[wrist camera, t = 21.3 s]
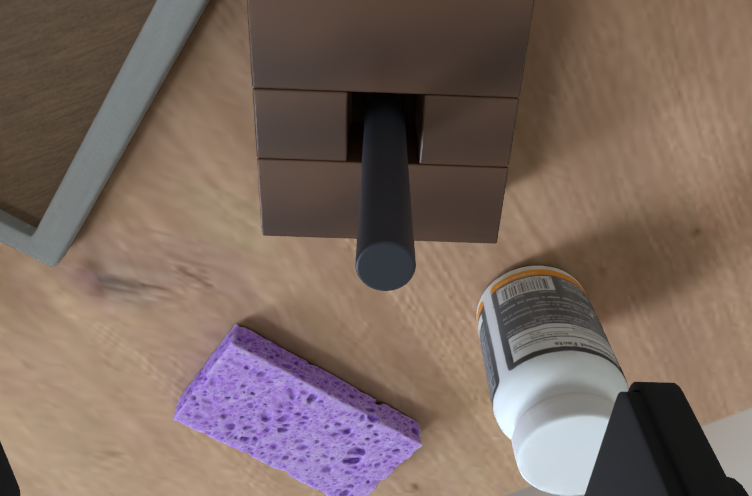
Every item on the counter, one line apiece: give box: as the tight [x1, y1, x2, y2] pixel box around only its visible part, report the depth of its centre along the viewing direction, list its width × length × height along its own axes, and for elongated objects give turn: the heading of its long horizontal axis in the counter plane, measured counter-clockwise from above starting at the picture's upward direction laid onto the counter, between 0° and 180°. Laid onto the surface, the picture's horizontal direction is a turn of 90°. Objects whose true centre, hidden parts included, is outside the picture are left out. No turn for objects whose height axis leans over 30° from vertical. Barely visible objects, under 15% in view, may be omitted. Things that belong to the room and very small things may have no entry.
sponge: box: [174, 324, 422, 496], centre depth 38 cm, size 7×13×2 cm, turn 53°
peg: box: [356, 92, 416, 291], centre depth 23 cm, size 2×2×13 cm
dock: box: [247, 0, 534, 243], centre depth 27 cm, size 10×10×4 cm
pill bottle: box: [477, 265, 628, 495], centre depth 30 cm, size 6×6×10 cm
